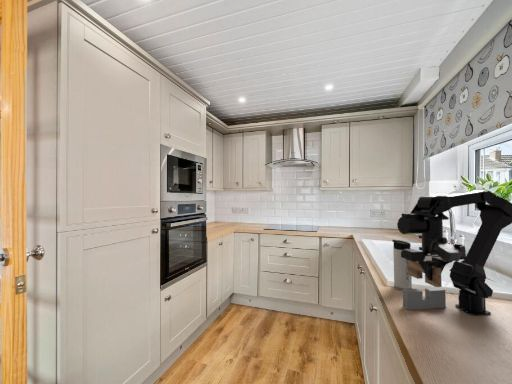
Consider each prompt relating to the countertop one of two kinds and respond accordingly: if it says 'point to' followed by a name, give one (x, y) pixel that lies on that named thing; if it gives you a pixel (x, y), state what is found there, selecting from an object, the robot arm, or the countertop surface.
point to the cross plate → (417, 270)
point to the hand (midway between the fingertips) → (433, 280)
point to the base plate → (424, 298)
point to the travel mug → (401, 266)
